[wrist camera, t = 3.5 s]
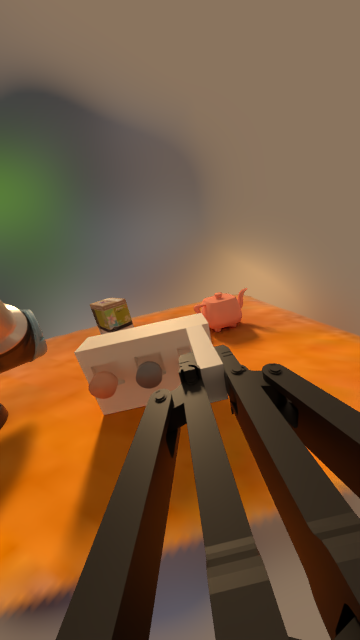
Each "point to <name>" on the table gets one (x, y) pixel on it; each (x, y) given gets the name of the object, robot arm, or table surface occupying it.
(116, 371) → the button panel
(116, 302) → the tea box
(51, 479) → the table surface
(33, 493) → the table surface
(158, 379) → the grey button
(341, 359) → the table surface
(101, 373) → the terracotta button
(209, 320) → the teapot
